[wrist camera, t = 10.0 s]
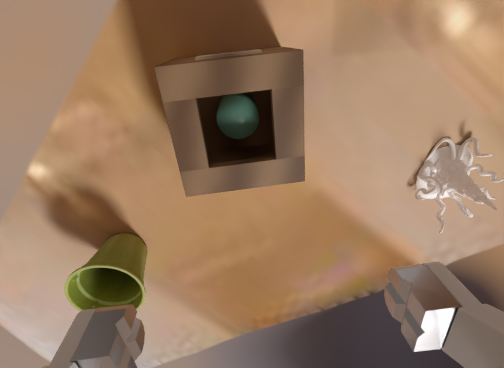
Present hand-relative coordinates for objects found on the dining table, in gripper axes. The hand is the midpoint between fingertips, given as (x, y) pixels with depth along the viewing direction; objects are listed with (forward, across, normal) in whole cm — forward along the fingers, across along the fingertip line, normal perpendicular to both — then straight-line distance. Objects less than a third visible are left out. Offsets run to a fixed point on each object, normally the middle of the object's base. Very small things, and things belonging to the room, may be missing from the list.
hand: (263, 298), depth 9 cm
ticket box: (+28, 0, 0) cm, 28 cm away
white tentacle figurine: (+29, -29, +14) cm, 43 cm away
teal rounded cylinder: (+27, 0, 0) cm, 27 cm away
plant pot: (+28, +19, +19) cm, 39 cm away
